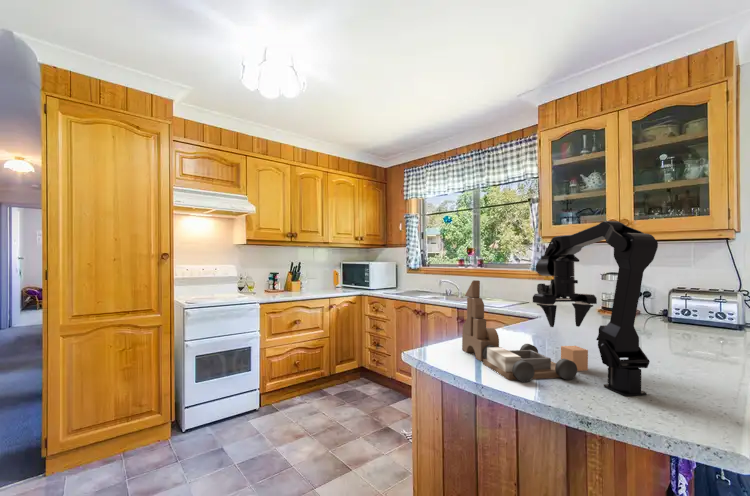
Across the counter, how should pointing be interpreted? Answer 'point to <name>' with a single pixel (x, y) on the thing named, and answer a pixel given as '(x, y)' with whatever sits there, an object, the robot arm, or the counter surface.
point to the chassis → (526, 364)
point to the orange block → (576, 356)
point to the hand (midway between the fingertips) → (564, 326)
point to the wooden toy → (477, 324)
